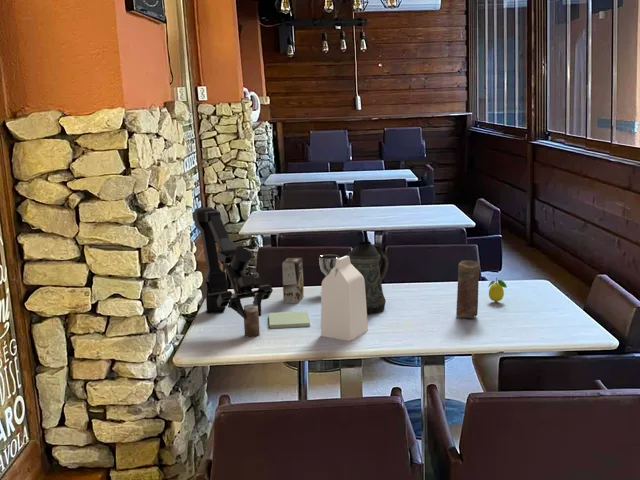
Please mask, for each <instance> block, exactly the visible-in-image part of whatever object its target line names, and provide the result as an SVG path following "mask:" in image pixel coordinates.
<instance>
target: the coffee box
mask: <svg viewBox="0 0 640 480" xmlns="http://www.w3.org/2000/svg"><path fill="white" fill-rule="evenodd" d="M281 264H282V268H281V269H282V298H283V299H282V301H283V303H284V304H285V303H286V304H289V303H290V304H291V303H292V304H299V303H300V302H301V301H302V300H303V298H304V297H305V295H304V292H305V291H304V268H303V267H304V266H303V257H287V258H286V259H285V260H284V261H282V263H281Z"/></svg>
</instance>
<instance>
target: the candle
mask: <svg viewBox="0 0 640 480" xmlns="http://www.w3.org/2000/svg"><path fill="white" fill-rule="evenodd" d="M457 269H458V271H457V292H456V295H457V296H456V314H455V316H456V317H458V318H461V319H467V320H468V319H469V320H471V319H472V318H475V317H477V316H478V313H479V310H478V309H479V279H480V264H479V262H478V261H475V260H470V259H469V260H461V261H460V262H459V263H458V267H457Z"/></svg>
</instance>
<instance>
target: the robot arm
mask: <svg viewBox="0 0 640 480" xmlns="http://www.w3.org/2000/svg"><path fill="white" fill-rule="evenodd" d="M221 217H222V216H221V212H220V210H219V209H214V207H212V206H207V207H199V208H198V207H197V208H194V211H193V212H192V220H193V222H194V226H195V227H196V228H197V230H198V231H199V232H200V235H201V241H202V246H203V254H204V260H205V264H206V273H205V274H204V277H203V280H204V281H203V285H202V287H201V290H200V293H201V296H202V297H204V298H205V301H206V305H205V306H206V313H205V314H219V313H220V314H221V313H224V312H225V310H226V307H228V308H229V309H230V308H231V309H232V310H233V311H235V312H236V313H237V314H238V315H239V316H241V318H243V320H244V319H246V314H245V311H244V306H243V304H242V302H241V300H242V299H248V298H253V301H252V304H254V305H258V310H259V317H261V316H262V301H264V300H267V299H268V300H269V299H270V297H271V295H272V293H273V291H274V289H273V287H272V285H270V284H264V285H263V284H262V285H259V286H258V288H257V289H256V290H253V289H254V288H255V286H254V285H257V283H259V282H261V276H260V274H259V272H258V271H257V272H253V273H251V275H248V274H246V272H245V270H246V269H247V267H248V266H249V264H250V260H251V259H252V253H251V251H249V249H247V248H244V247H243V246H242V245H237V243H236V242H235V241H233V240H232V239H231V238H230V236H229V234H228V232H227V229H226V227H225V225H224V223H223V222H224V221H223V220H222V218H221ZM220 265H227V267H226V268H225V270H226V271H223V270H222V268H221V267H220ZM227 276H228V279H229V281H230V284H231V285H230V289H233V292H232V291H231V290H229V282H228V279H227Z"/></svg>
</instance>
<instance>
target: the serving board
mask: <svg viewBox="0 0 640 480" xmlns="http://www.w3.org/2000/svg"><path fill="white" fill-rule="evenodd" d="M268 320H269V321H268V322H269V329H280V328H281V329H282V328H302V327H303V328H304V327H311V321H310V317H309V312H308V311H307V310H306V311H303V310H302V311H286V312H285V311H284V312H282V311H281V312H269V313H268Z"/></svg>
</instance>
